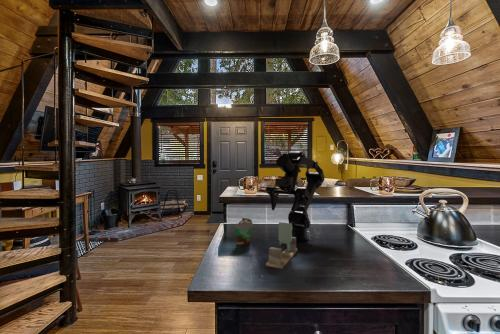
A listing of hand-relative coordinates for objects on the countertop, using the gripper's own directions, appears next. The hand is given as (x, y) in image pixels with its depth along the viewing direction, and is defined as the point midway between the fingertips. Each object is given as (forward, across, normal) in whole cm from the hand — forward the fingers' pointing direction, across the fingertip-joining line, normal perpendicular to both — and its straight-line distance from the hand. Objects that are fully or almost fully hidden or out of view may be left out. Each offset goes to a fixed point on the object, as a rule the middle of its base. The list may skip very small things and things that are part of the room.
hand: (282, 211), depth 113 cm
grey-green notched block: (+15, +4, +2) cm, 15 cm away
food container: (+15, -17, +5) cm, 24 cm away
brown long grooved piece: (+18, +5, 0) cm, 19 cm away
